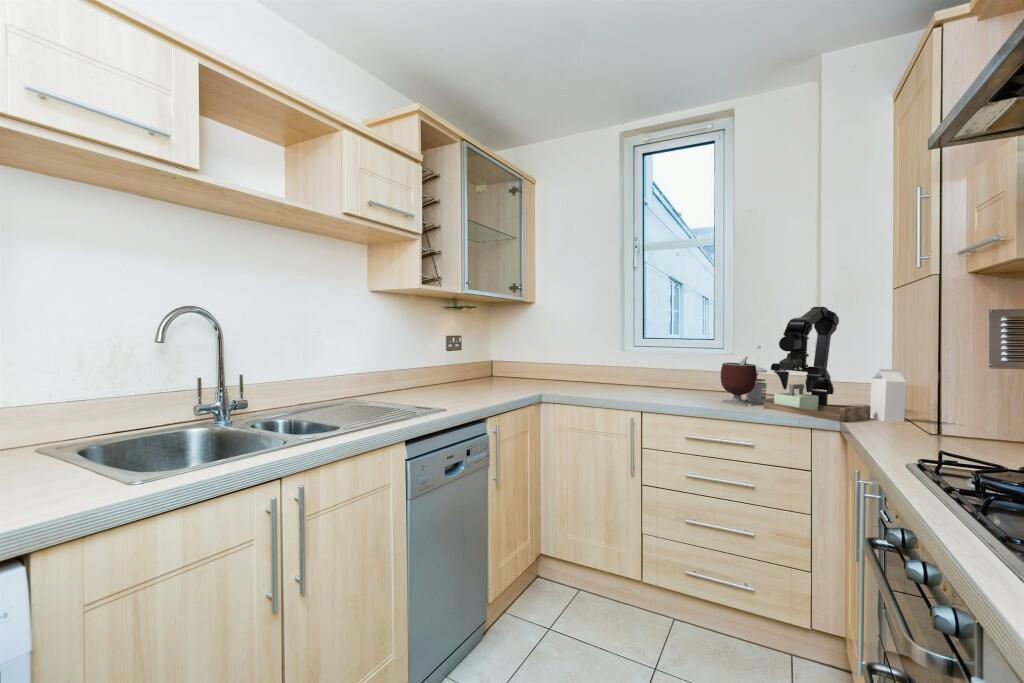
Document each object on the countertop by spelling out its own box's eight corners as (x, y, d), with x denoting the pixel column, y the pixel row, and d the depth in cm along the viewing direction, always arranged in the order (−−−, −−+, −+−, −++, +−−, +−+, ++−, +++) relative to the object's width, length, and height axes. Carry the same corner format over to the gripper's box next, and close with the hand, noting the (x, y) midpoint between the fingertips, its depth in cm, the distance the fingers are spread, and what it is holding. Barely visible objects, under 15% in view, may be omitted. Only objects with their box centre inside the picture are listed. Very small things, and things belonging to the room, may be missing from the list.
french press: (744, 401, 211) (747, 345, 210) (742, 397, 222) (744, 344, 221) (769, 403, 207) (772, 346, 206) (765, 399, 218) (768, 345, 217)
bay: (789, 407, 197) (790, 394, 197) (869, 421, 171) (870, 406, 170) (763, 409, 189) (764, 396, 189) (843, 424, 163) (844, 408, 163)
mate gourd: (747, 407, 194) (750, 358, 193) (713, 402, 204) (716, 356, 203) (761, 403, 205) (763, 357, 204) (728, 399, 215) (730, 355, 214)
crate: (792, 407, 193) (793, 382, 193) (817, 411, 185) (818, 385, 184) (773, 408, 188) (774, 383, 188) (798, 413, 179) (800, 386, 179)
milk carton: (904, 424, 167) (907, 370, 167) (883, 423, 168) (886, 369, 167) (888, 420, 175) (891, 368, 174) (869, 419, 175) (871, 367, 174)
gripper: (762, 349, 190) (761, 388, 190) (810, 352, 173) (808, 395, 174) (780, 349, 195) (778, 387, 196) (827, 352, 179) (825, 393, 179)
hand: (796, 390), depth 186 cm, fingers open, 9 cm apart
